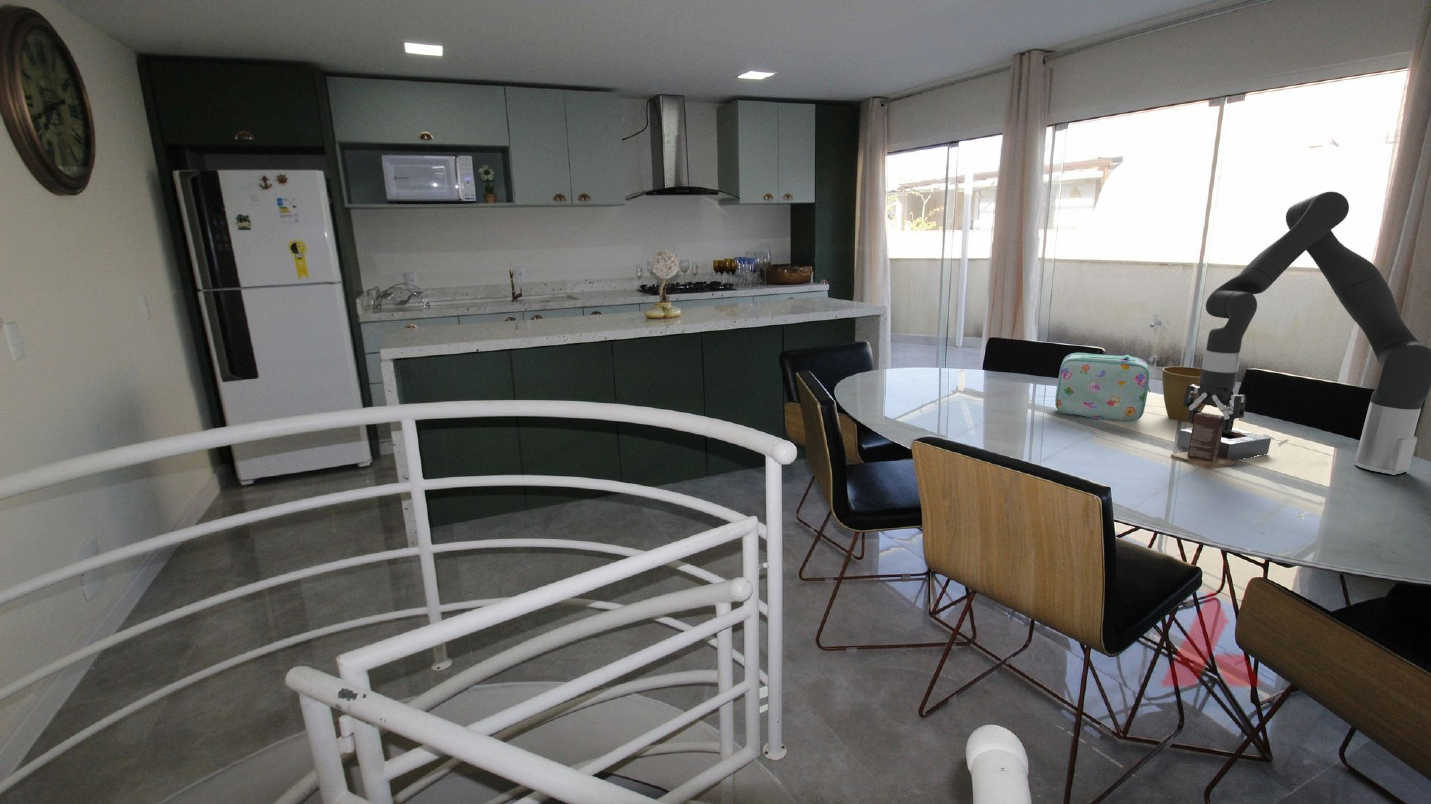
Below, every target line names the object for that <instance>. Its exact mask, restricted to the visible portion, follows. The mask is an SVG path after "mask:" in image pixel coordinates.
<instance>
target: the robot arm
mask: <svg viewBox="0 0 1431 804" xmlns="http://www.w3.org/2000/svg"><path fill="white" fill-rule="evenodd" d="M1349 210H1350V205H1349V201H1348V199H1347V198H1346V197H1345V196H1344V195H1343V194H1341V193H1340V192H1338V191H1324V192H1323V191H1322V192H1320V193H1316V194H1314V195H1312V196H1310V197H1307V198H1305V199H1303V200H1301V201H1299V202H1296V203H1294V204H1293V205H1291V206H1290V207H1289V208H1288V209H1287V211H1286V213H1285V222H1286V226H1287V228H1288V229H1289V230H1288V231H1287V232H1286V233H1285V234H1283V235H1282V236H1281V237H1280V238H1278V239H1277V240H1276V241H1275V242H1273V243H1272V244H1270V245H1269V246H1267V247H1266V248H1265V249H1264V250H1262V251H1261V252H1260V253H1259V254H1258V255H1256V256H1255V257H1254V258H1253V259H1251V261H1250V262H1249V264H1247V265H1246V267H1244V269H1243V270H1242V271H1241V272H1240V273H1239V274H1238V275H1236V276H1235V277H1232V278H1231V279H1229V280H1227V282H1224V283H1223V284H1222V285H1220V286H1219V287H1217V288H1216V289H1215V290H1214V291H1212V293H1211V294H1210V295H1209V296H1208V297H1207V300H1206V302H1205V310H1206V312H1207V313H1208V315H1210V316H1211V317H1213V318H1220V319H1227V322H1226V324H1225V325H1224V326H1220V327H1219V326H1218V327H1214V328H1212V329H1210V331H1209V333H1208V338H1207V341H1206V342H1207V343H1206V349H1205V353H1204V355H1203V358H1202V359H1203V360H1202V363H1201V364H1202V365H1201V369H1202V370H1201V376H1200V382H1199V383H1200V387H1198V386H1197V385H1188V386H1187V388H1186V393H1185V397H1184V401H1183V406H1186V407H1188V408H1189V409H1190V413H1189V421H1190V422H1189V424H1190V425H1193V420H1194V414H1196V413H1198V412H1200V410H1198V409H1199V408H1201V407H1202V406H1203V405H1205V406H1211V407H1213V408H1218V410H1219V411H1220V412H1221V413H1222V416H1224V417H1225V419H1224V421H1223V426H1222V432H1223V433H1228V432H1230V431H1231V430H1232V429H1233V428H1234V423H1235V419H1242V418H1244V417H1245V409H1246V403H1247V402H1246V401H1247V396H1246V395H1245V394H1234V388H1235V387H1236V382H1237V377H1238V376H1237V375H1238V371H1239V366H1240V355H1241V354H1240V353H1241V348H1242V343H1243V337H1244V335H1245V333H1246V332H1247V329H1248V328H1249V325H1250V323H1251V322H1252V320H1253V318H1254V316H1255V314H1256V312H1257V309H1258V301H1257V299H1256V296H1255V295H1258V294H1262V293H1264V292H1266V290H1268V289H1269V288H1270V287H1271V286H1272V284H1274V282H1275V281H1277V279H1278V278H1279V277H1280V276H1281V275H1282V274H1283V273H1284V272H1285V271H1286V270H1287V269H1288V268H1289V267H1290V265H1292V264H1293V262H1295V261H1296V260H1297V259H1299V257H1300V256H1301V255H1303V254H1304V253H1305V252H1307V253H1308V255H1309V256H1310V257H1311V258H1312V260H1313V261H1314V262H1315V264H1316V266H1317V267H1318V269H1319V271H1320V272H1321V273H1322V274H1323V276H1324V278H1325V279H1326V281H1327V282H1328V284H1329V286H1330V287H1331V290H1332V291H1333V293H1334V294H1335V296H1336V297H1337V299H1338V301H1339V303H1341V305H1342V307H1344V309H1345V311H1346V312H1347V314H1349V316H1350V317H1351V318H1352V320H1353V321H1354V322H1355V323H1356V324H1357V325H1358V327H1360V330H1362V332H1363V333H1364V335H1365V336H1366V338H1367V340H1368V342H1369V345H1370V347H1371V349H1372V350H1373V353H1374V355H1375V358H1376V360H1377V362H1378V365H1379V367H1380V368H1381V373H1380V377H1379V381H1378V383H1377V387H1376V388H1375V390H1374V391H1372V393H1371V398H1370V402H1369V405H1368V408H1367V413H1366V417H1365V419H1364V420H1365V421H1364V424H1363V428H1362V432H1361V436H1360V439H1359V445H1358V447H1357V448H1358V449H1357V452H1356V456H1355V460H1354V462H1355V461H1357V462H1358V463H1360V464H1363V465H1365V466H1369V467H1375V468H1379V469H1385V470H1392V471H1399V470H1409V471H1410V467H1411V463H1412V459H1413V456H1414V453H1415V449H1416V446H1417V442H1418V437H1416V436H1415V432H1416V429H1417V425H1418V420H1419V417H1420V415H1421V410H1422V408H1423V407H1422V406H1423V403H1424V402H1425V400H1426V399H1427V397H1428V396H1429V393H1430V391H1431V348H1429V347H1428V346H1427V345H1424V344H1422V343H1421V342H1420V341H1419V340H1418V339H1417V338H1416V337H1415V335H1414V334H1413V333H1412V332H1411V331H1410V329H1409V328H1408V327H1407V325H1406V324H1405V322H1404V321H1403V320H1402V318H1401V316H1400V314H1399V311H1398V310H1399V309H1398V307H1397V304H1396V301H1395V298H1394V295H1393V293H1392V290H1391V289H1390V286H1389V285H1388V283H1387V281H1386V280H1385V278H1384V276H1383V275H1382V273H1381V272H1380V270H1379V269H1378V267H1376V265H1374V263H1372V262H1371V261H1369V260H1368V259H1367V258H1365V257H1363V256H1361V255H1360V254H1358V253H1356V252H1355V251H1352V250H1351V249H1349V248H1348V247H1346V246H1345V245H1344V244H1342V242H1341V241H1340V240H1339V239H1338V238H1337V237H1336V236H1335V234H1334V232H1333V231H1332V230H1333V229H1335V228H1336V227H1337V226H1338V225H1340V224H1341V223H1342V222H1343V221H1344V220H1345V219H1346V218H1347V216H1348V213H1349ZM1197 392H1198V394H1199V396H1200V397H1199V398H1198V399H1196V400H1195V396H1196V393H1197ZM1194 400H1195V401H1194ZM1231 401H1232V402H1231ZM1232 403H1233V404H1232Z"/></svg>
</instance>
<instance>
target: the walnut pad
mask: <svg viewBox="0 0 1431 804" xmlns="http://www.w3.org/2000/svg"><path fill="white" fill-rule="evenodd" d="M1187 455H1188V451H1182V452H1176V453H1170V458H1172V459H1176V460H1179V461H1181V462H1184V463H1187V464H1190V465H1194V466H1197V467H1199V468H1202V469H1204V470H1211V469H1214V468H1215V467H1216V468H1221V467H1226V465H1228V466H1232V465H1231V464H1234V465H1235V461H1231V460H1228V459H1225V458H1221V457H1218V458H1217V459H1216V460H1215V461H1213V462H1212V461H1208V460H1203V459H1199V458H1194V457H1189V456H1187ZM1216 468H1215V469H1216Z"/></svg>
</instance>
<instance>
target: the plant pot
mask: <svg viewBox="0 0 1431 804" xmlns="http://www.w3.org/2000/svg"><path fill="white" fill-rule="evenodd" d="M1201 370H1202V368H1199V367H1191V366H1177V365H1176V366H1174V365H1172V366H1165V367H1163V368H1162V374H1161V375H1162V378H1161V379H1162V393H1163V401H1164V407H1165V412H1166V414H1167V417H1168V419H1170V420H1172V421H1177V422H1181V423H1190V421H1189V413H1190V409H1189V408H1188V407H1186V406H1183V401H1184V397H1185V393H1186V388H1187V386H1188V385H1197V386H1198V387H1200V383H1199V382H1200V376H1201ZM1199 397H1200V396H1199V394H1198V392H1197V393H1196V396H1195V400H1196V399H1198V398H1199ZM1195 400H1194V401H1195ZM1205 407H1206V405H1203V406H1202V407H1201V408H1199V409H1198V410H1200V412H1203V409H1205Z"/></svg>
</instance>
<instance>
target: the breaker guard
mask: <svg viewBox="0 0 1431 804" xmlns="http://www.w3.org/2000/svg"><path fill="white" fill-rule="evenodd" d="M1191 432H1192V427H1188V428H1182V429H1179V430H1178V436H1177V443H1176V447H1177V448H1181V449H1184V450H1187V451H1188V449H1189V444H1190V438H1191ZM1271 440H1272V437H1271V436H1267V435H1262V434H1259V433H1256V432H1255V433H1254V432H1252V431H1248V430H1243V429H1240V428H1237V427H1233V429H1232V430H1231V431H1230V432H1228V433H1223V432H1222V437H1221V442H1220V448H1219V453H1218V457H1221V458H1225V459H1228V460H1231V461H1234V462H1235V461H1240V460H1239V459H1241V460H1244V459H1243V458H1247V459H1252V458H1251V457H1253V458H1255V457H1254V456H1257V455H1264V454H1267V453H1268V454H1269V449H1270V446H1271Z"/></svg>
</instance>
